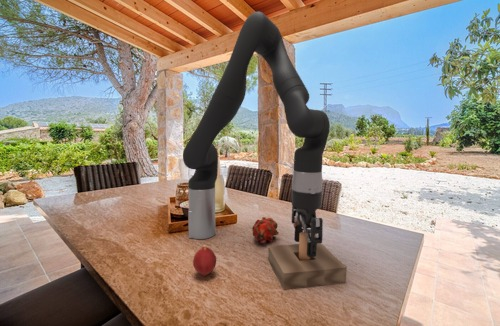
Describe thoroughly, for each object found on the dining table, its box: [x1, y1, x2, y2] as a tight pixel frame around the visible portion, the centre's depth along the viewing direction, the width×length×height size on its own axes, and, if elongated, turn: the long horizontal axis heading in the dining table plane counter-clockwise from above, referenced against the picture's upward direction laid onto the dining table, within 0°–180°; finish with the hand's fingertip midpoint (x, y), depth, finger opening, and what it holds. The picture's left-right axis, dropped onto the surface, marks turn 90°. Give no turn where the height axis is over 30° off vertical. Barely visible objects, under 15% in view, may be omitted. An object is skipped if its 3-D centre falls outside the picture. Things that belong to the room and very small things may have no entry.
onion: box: [192, 245, 217, 276], centre depth 62 cm, size 6×6×8 cm
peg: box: [298, 231, 311, 261], centre depth 64 cm, size 3×3×10 cm
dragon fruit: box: [251, 217, 280, 245], centre depth 82 cm, size 8×8×12 cm
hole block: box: [267, 243, 348, 290], centre depth 64 cm, size 16×14×4 cm
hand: (304, 248), depth 64 cm, fingers open, 8 cm apart
